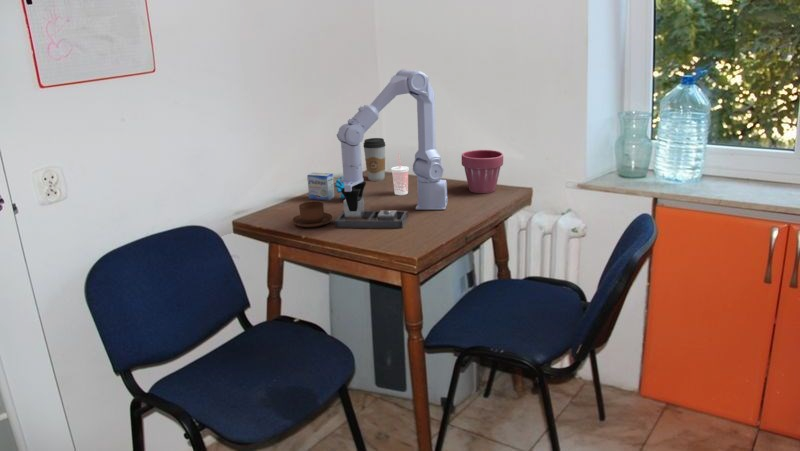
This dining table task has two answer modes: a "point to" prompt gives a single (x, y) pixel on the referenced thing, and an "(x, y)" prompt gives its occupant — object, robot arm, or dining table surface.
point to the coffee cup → (375, 158)
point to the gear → (340, 187)
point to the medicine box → (320, 186)
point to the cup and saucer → (312, 215)
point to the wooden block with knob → (387, 215)
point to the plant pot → (482, 169)
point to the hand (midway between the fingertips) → (355, 208)
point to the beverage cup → (400, 179)
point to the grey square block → (355, 214)
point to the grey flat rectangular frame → (371, 221)
